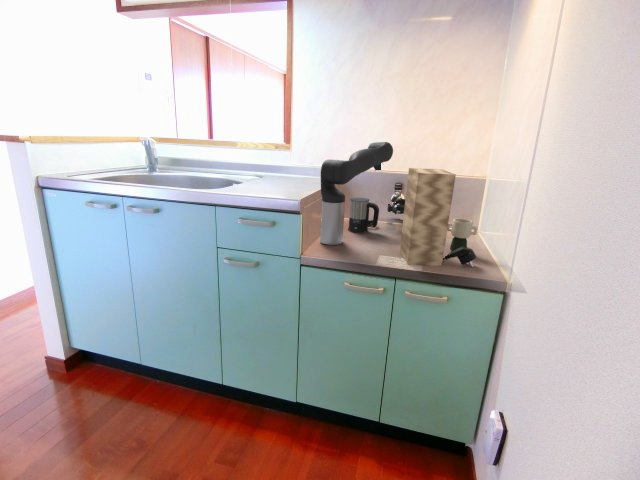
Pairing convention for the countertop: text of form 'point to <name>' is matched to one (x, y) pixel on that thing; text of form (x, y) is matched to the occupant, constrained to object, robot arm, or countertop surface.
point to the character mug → (461, 232)
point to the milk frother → (361, 214)
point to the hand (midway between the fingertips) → (405, 212)
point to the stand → (426, 216)
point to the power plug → (462, 255)
